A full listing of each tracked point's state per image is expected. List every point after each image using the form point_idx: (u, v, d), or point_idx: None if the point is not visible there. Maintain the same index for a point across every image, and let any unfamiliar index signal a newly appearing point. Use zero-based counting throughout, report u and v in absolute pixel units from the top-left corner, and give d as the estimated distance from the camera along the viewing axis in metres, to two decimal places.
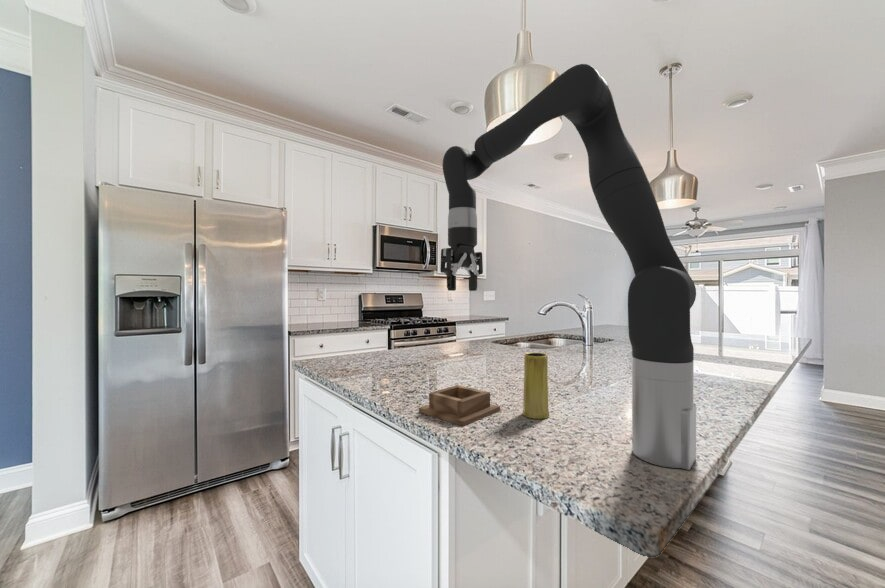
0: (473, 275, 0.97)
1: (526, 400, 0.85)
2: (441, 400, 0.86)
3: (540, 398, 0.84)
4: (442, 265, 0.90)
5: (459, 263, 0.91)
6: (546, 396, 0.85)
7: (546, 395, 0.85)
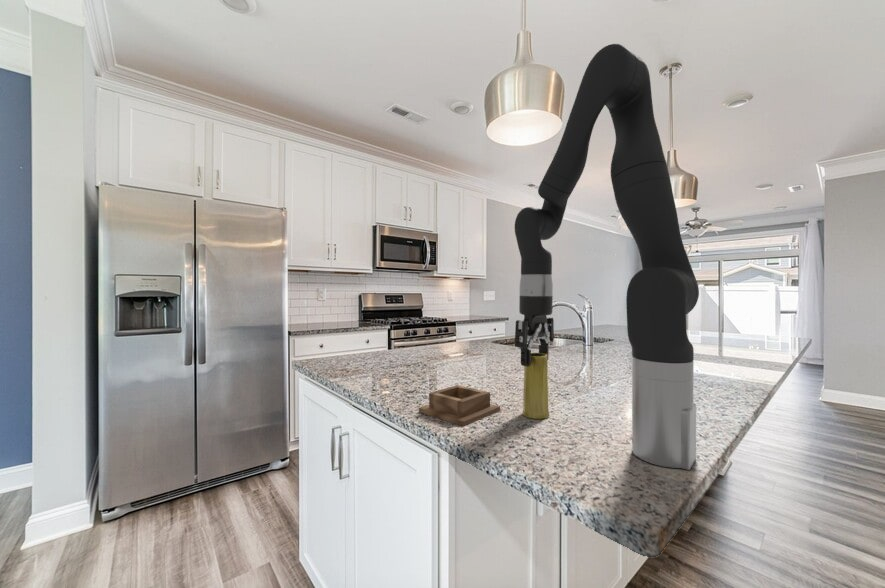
0: (544, 344, 0.89)
1: (526, 400, 0.85)
2: (441, 400, 0.86)
3: (540, 398, 0.84)
4: (517, 339, 0.82)
5: (535, 336, 0.83)
6: (546, 396, 0.85)
7: (546, 395, 0.85)
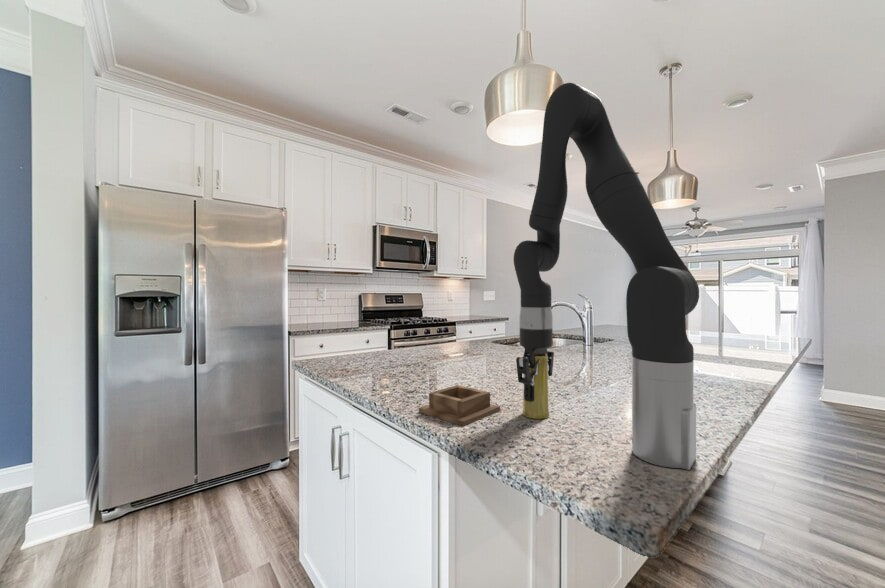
0: None
1: None
2: (441, 400, 0.86)
3: (540, 398, 0.84)
4: (519, 375, 0.83)
5: (536, 371, 0.83)
6: (546, 396, 0.85)
7: (546, 395, 0.85)
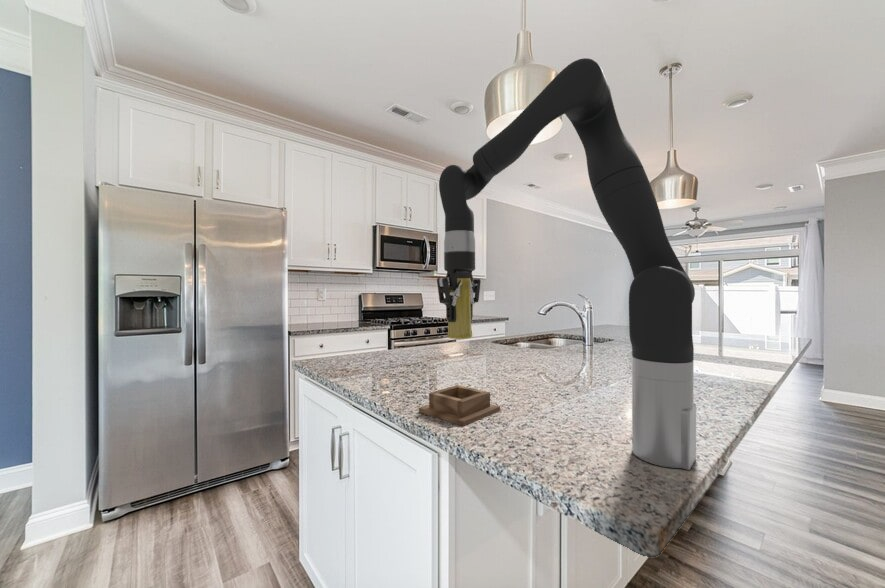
0: None
1: (449, 322, 0.88)
2: (441, 400, 0.86)
3: (461, 319, 0.86)
4: (440, 296, 0.85)
5: (458, 292, 0.86)
6: (468, 317, 0.87)
7: (468, 316, 0.87)
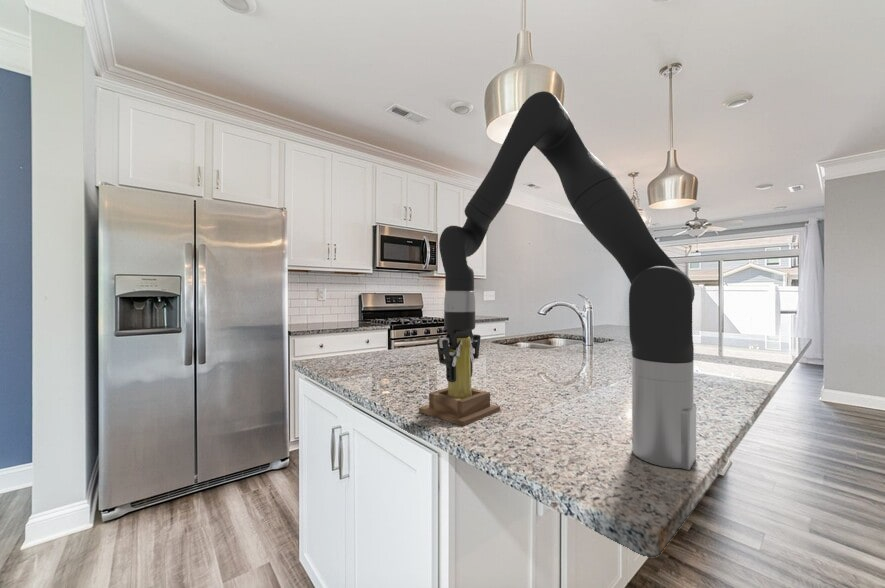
0: None
1: None
2: (441, 400, 0.86)
3: (461, 379, 0.87)
4: (440, 357, 0.85)
5: (458, 352, 0.86)
6: (468, 377, 0.88)
7: (468, 376, 0.88)
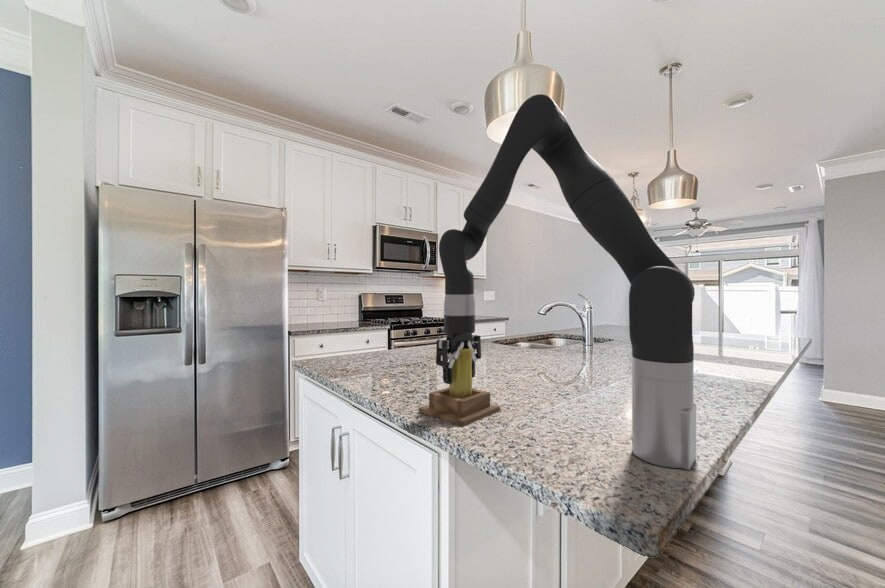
0: None
1: (450, 391, 0.88)
2: (441, 400, 0.86)
3: (462, 390, 0.87)
4: (438, 358, 0.85)
5: (456, 354, 0.86)
6: (469, 388, 0.88)
7: (469, 387, 0.88)
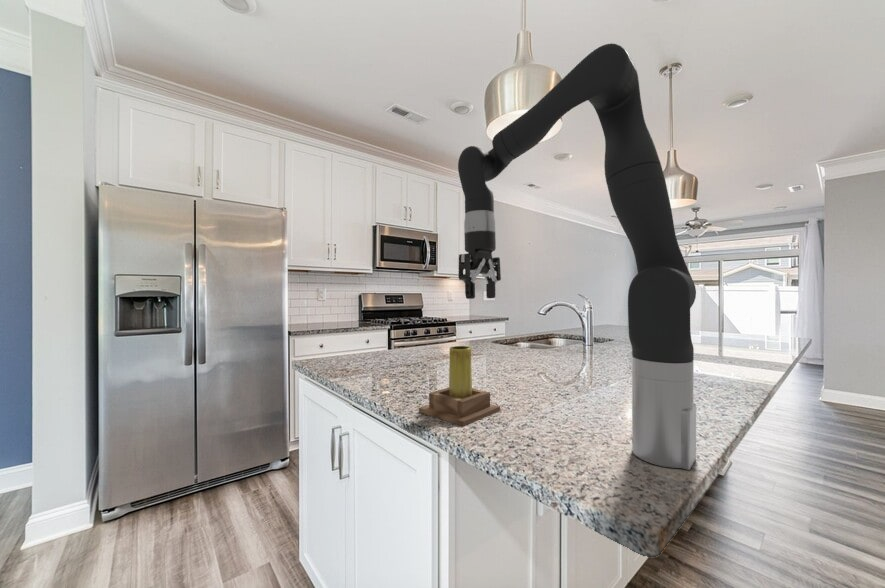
0: (491, 282, 0.92)
1: (450, 391, 0.88)
2: (441, 400, 0.86)
3: (462, 390, 0.87)
4: (460, 272, 0.85)
5: (478, 269, 0.86)
6: (469, 387, 0.88)
7: (469, 387, 0.88)
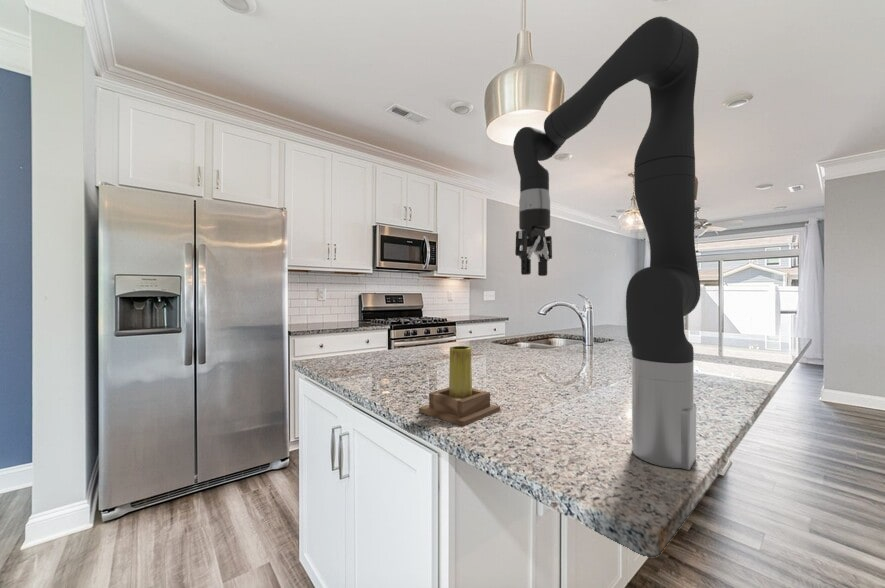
0: (543, 259, 0.95)
1: (450, 391, 0.88)
2: (441, 400, 0.86)
3: (462, 390, 0.87)
4: (517, 248, 0.88)
5: (534, 246, 0.88)
6: (469, 387, 0.88)
7: (469, 386, 0.88)
